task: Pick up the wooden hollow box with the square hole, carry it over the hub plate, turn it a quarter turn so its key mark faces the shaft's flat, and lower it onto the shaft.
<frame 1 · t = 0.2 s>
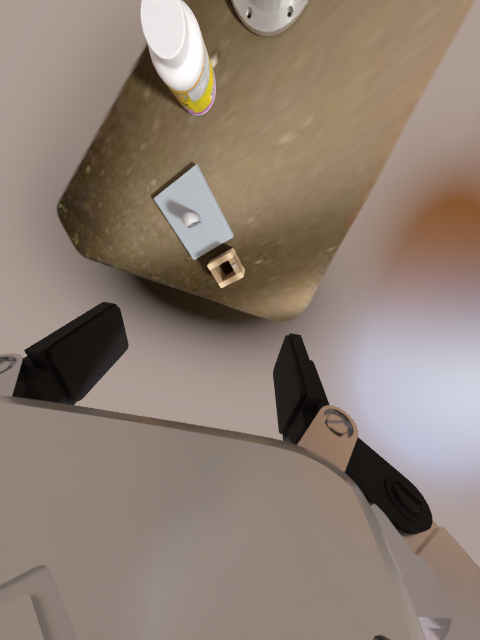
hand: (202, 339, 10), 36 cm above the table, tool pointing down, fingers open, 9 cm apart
supplement bottle: (197, 88, 30), on the table
wooden hollow box: (228, 264, 45), on the table
shaft block: (196, 217, 40), on the table
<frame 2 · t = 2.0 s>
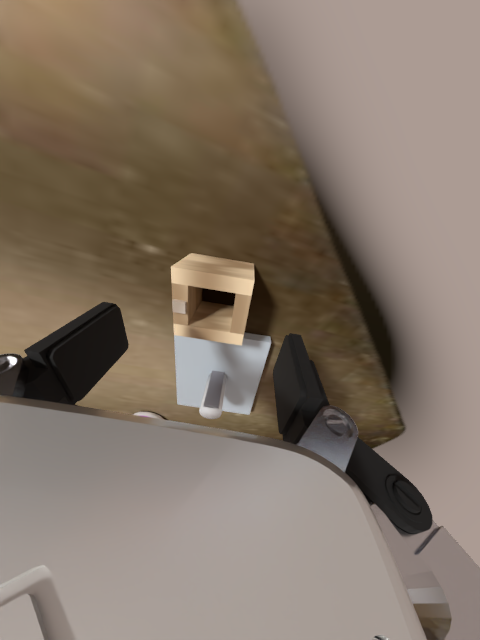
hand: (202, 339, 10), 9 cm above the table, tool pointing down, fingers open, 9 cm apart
wooden hollow box: (219, 288, 19), on the table
shaft block: (218, 371, 25), on the table
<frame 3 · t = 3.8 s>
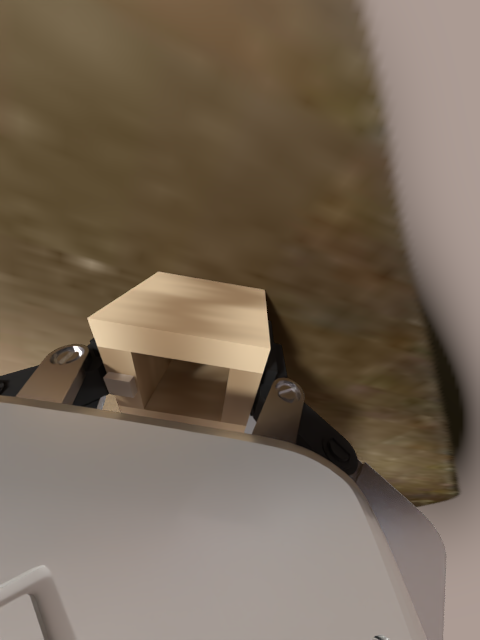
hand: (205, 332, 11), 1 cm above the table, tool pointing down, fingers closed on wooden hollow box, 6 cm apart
wooden hollow box: (208, 324, 12), on the table, touching gripper
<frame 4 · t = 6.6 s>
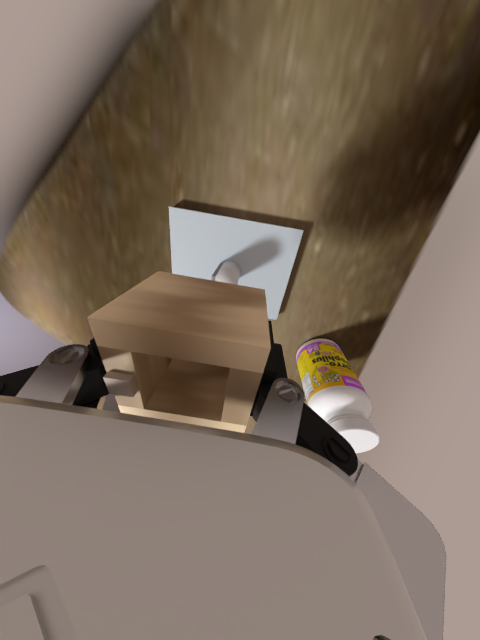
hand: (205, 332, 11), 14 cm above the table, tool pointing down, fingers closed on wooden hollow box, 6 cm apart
supplement bottle: (316, 352, 29), on the table
wooden hollow box: (208, 324, 12), point 13 cm above the table, touching gripper
shaft block: (231, 268, 22), on the table
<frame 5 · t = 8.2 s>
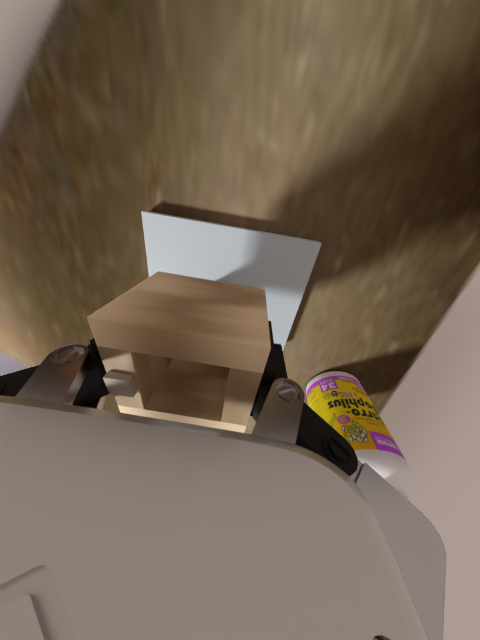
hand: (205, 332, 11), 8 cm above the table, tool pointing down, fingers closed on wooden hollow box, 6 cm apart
supplement bottle: (330, 385, 24), on the table
wooden hollow box: (208, 324, 12), point 7 cm above the table, touching gripper
shaft block: (226, 288, 18), on the table
when the fingers open (4 cm above the table, at t = 9.6 s): wooden hollow box drops 2 cm, resting on shaft block.
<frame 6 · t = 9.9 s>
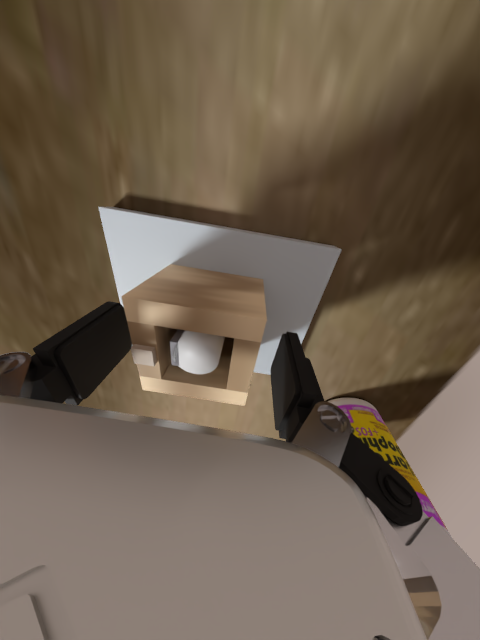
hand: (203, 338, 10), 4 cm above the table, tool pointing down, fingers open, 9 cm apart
supplement bottle: (340, 411, 20), on the table
wooden hollow box: (214, 311, 13), point 1 cm above the table, touching shaft block
shaft block: (217, 304, 14), on the table
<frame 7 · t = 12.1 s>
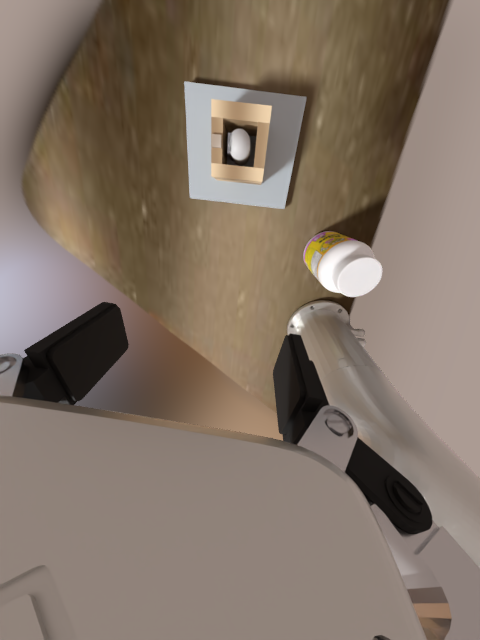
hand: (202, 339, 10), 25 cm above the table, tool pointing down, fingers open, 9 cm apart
supplement bottle: (321, 251, 31), on the table
wooden hollow box: (241, 153, 24), point 1 cm above the table, touching shaft block
shaft block: (241, 155, 25), on the table
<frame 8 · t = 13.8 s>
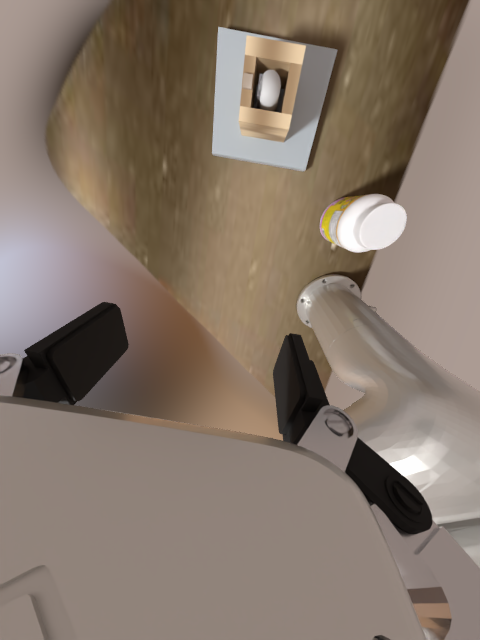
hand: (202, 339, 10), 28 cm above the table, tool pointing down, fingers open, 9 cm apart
supplement bottle: (338, 220, 31), on the table
wooden hollow box: (267, 107, 24), point 1 cm above the table, touching shaft block
shaft block: (266, 111, 25), on the table
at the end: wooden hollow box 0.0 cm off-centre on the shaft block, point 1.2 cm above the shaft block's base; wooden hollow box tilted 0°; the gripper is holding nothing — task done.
